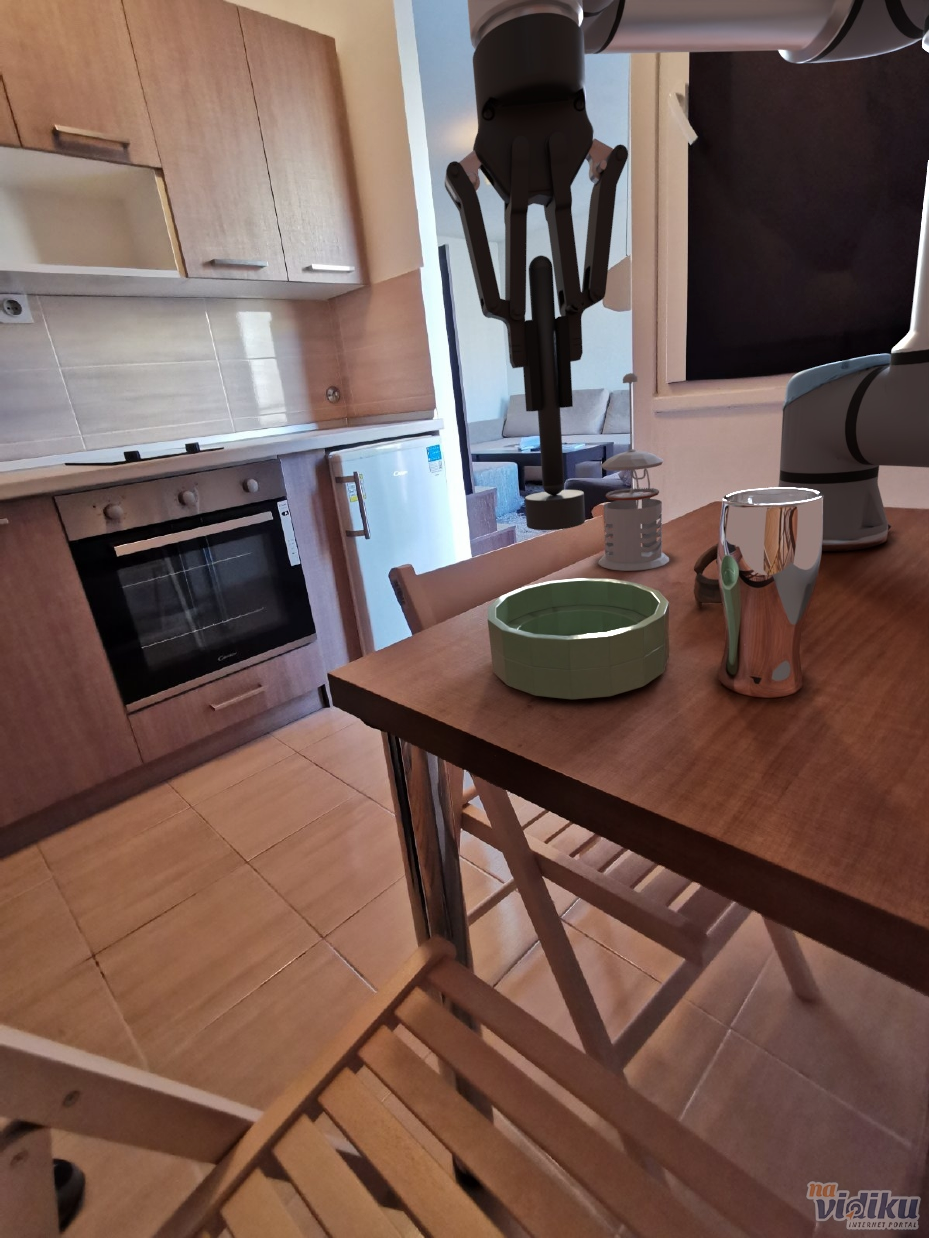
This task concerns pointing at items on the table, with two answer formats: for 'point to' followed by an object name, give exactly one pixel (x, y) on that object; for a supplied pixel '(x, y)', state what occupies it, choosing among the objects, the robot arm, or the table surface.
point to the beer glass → (767, 585)
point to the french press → (633, 513)
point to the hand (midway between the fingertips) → (548, 408)
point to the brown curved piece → (706, 580)
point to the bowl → (579, 637)
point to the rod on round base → (549, 414)
